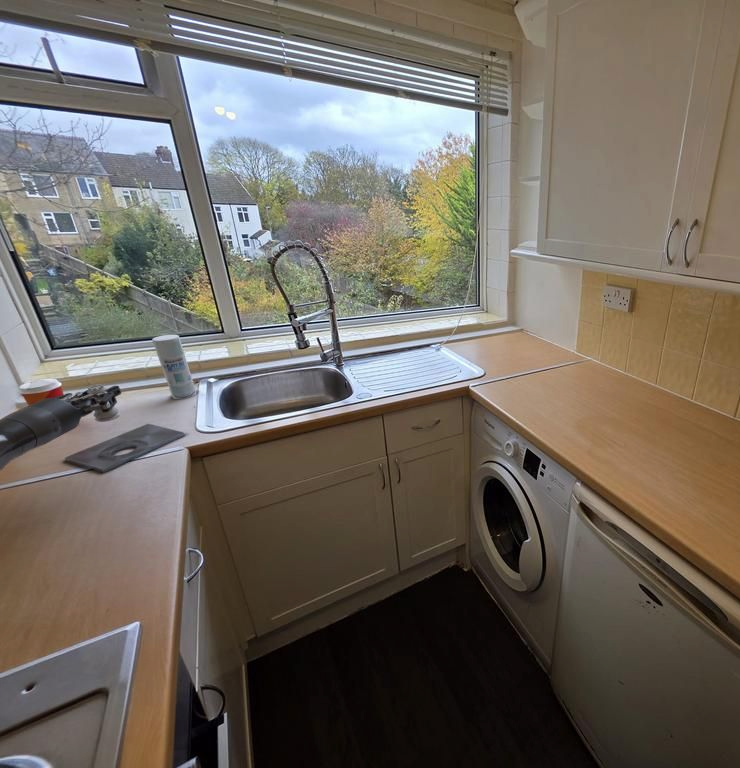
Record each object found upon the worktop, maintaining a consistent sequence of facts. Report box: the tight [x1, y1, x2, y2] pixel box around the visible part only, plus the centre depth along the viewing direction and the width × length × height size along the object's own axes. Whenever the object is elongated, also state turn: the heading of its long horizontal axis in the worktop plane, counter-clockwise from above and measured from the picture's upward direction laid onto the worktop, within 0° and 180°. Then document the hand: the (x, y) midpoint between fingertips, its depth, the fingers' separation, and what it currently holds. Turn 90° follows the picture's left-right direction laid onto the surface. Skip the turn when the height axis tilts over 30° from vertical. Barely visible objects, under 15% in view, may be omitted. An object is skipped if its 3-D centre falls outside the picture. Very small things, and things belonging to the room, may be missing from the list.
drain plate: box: [64, 423, 185, 474], centre depth 103 cm, size 18×14×2 cm
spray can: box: [151, 334, 197, 400], centre depth 128 cm, size 6×6×20 cm
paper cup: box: [18, 378, 65, 406], centre depth 108 cm, size 8×8×14 cm
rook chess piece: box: [87, 384, 121, 423], centre depth 93 cm, size 4×4×8 cm
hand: (108, 389), depth 95 cm, fingers closed on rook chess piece, 3 cm apart
